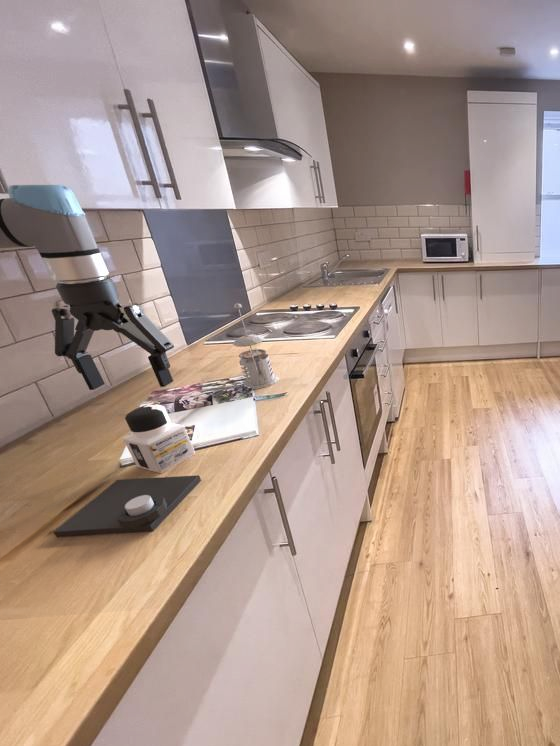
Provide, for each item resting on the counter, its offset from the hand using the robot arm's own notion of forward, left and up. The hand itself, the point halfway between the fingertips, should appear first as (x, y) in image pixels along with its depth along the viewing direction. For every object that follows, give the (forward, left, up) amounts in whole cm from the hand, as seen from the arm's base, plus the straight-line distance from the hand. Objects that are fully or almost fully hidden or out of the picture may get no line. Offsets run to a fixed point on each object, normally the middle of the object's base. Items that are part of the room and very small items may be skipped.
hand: (132, 385), depth 83 cm
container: (0, 0, -19) cm, 19 cm away
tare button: (+9, -19, -16) cm, 26 cm away
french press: (+2, +40, -19) cm, 44 cm away
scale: (+4, -15, -19) cm, 24 cm away
